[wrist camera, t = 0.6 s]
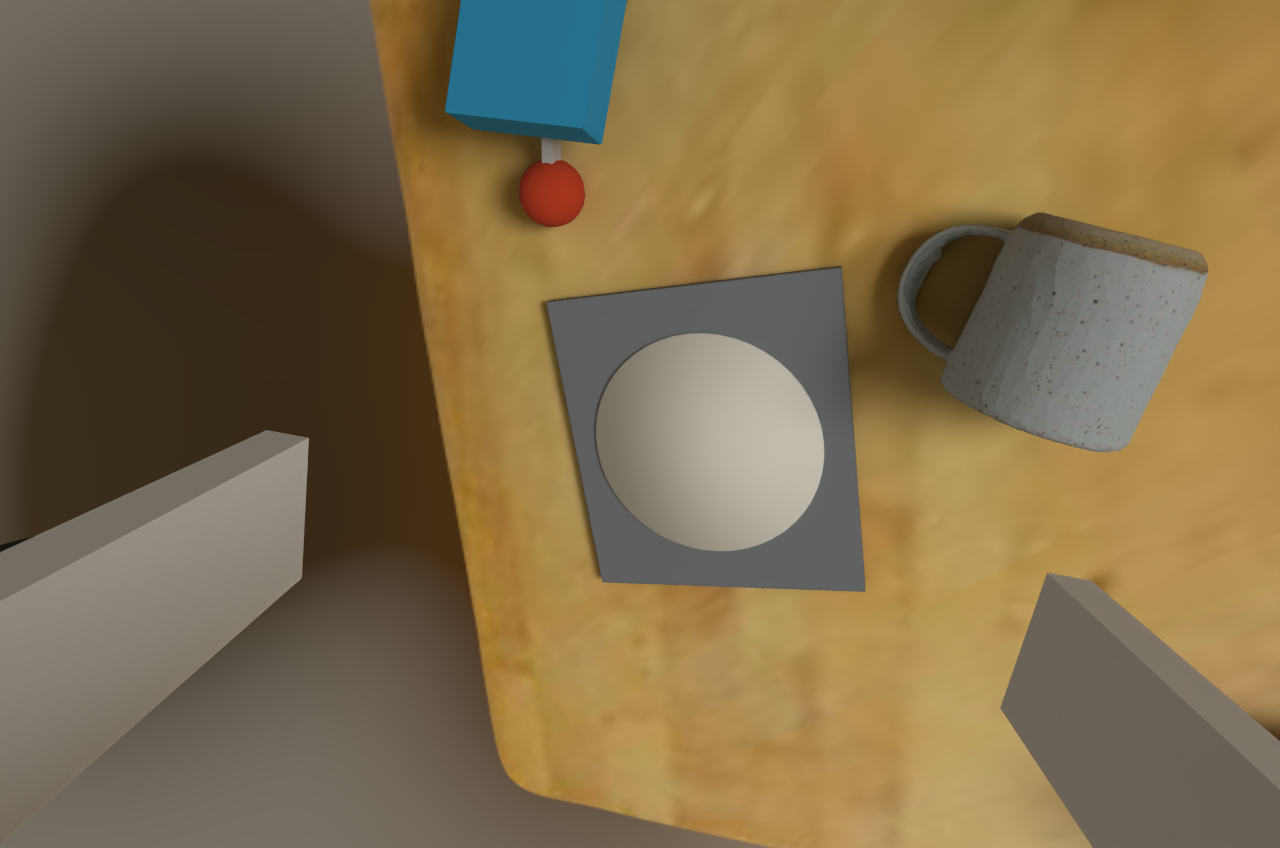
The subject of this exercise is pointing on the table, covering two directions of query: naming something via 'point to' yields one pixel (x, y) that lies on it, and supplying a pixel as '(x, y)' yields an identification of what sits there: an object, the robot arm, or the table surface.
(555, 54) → the lever
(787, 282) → the mat
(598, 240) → the table surface
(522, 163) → the table surface
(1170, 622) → the table surface
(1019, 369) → the ceramic mug
